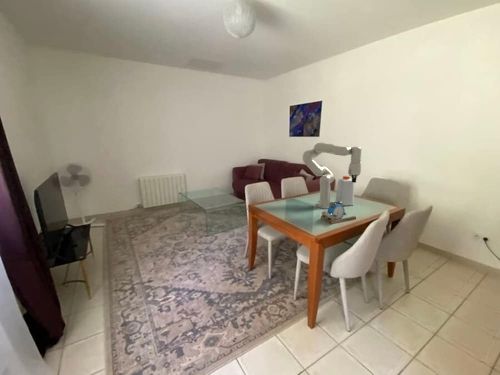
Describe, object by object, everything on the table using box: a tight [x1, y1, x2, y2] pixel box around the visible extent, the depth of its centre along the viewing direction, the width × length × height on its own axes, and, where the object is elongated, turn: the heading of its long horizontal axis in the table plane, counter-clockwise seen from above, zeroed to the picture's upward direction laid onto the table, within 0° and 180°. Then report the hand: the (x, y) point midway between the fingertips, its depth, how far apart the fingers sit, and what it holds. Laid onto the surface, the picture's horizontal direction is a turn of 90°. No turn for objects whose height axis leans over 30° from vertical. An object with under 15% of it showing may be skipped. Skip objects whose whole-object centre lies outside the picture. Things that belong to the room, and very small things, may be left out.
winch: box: [320, 210, 337, 225], centre depth 179 cm, size 16×5×8 cm, turn 21°
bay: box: [335, 211, 357, 224], centre depth 185 cm, size 13×22×2 cm, turn 112°
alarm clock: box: [326, 201, 346, 220], centre depth 183 cm, size 13×6×15 cm, turn 113°
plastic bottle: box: [335, 175, 355, 207], centre depth 222 cm, size 15×15×28 cm
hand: (353, 182), depth 195 cm, fingers closed
